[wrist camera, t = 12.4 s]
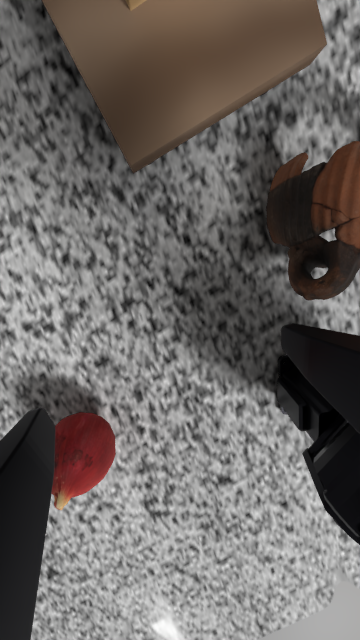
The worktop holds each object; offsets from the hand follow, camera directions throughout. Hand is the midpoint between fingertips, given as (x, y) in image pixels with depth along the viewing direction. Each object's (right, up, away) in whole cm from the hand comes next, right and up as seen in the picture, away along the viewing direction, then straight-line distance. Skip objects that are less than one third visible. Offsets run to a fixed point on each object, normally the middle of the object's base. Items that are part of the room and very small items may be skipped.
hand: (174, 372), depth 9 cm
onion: (-8, -8, +15) cm, 19 cm away
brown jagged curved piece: (+11, +10, +11) cm, 18 cm away
